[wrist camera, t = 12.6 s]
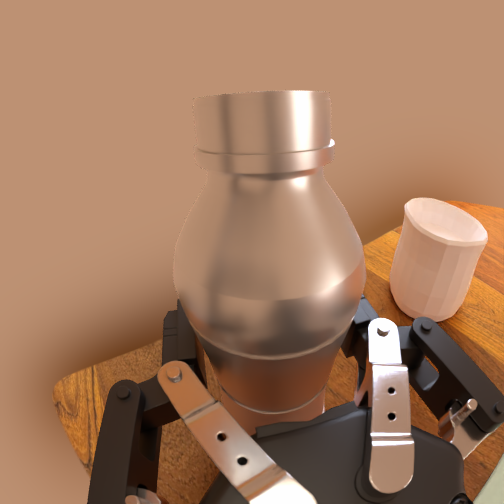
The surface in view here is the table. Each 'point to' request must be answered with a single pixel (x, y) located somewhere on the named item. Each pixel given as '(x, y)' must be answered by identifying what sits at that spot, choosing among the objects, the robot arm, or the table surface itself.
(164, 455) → the table surface
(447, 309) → the cup
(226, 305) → the metal bottle
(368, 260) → the table surface
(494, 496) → the mat
